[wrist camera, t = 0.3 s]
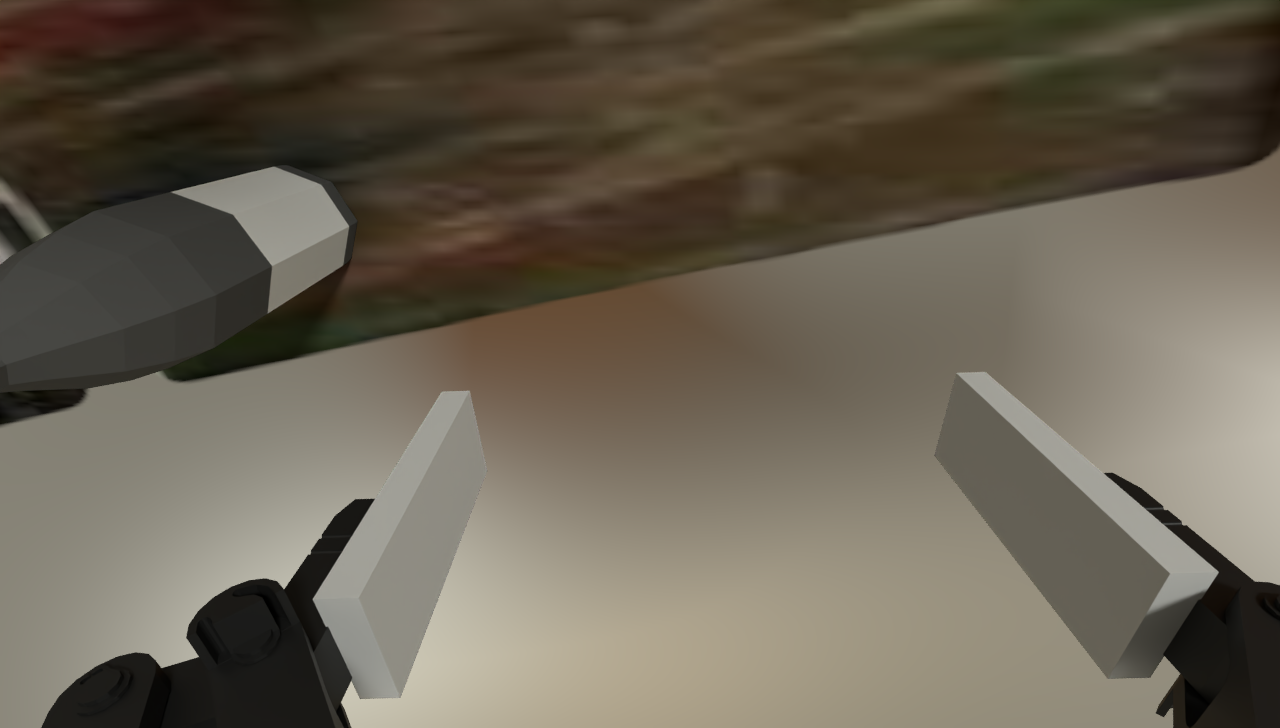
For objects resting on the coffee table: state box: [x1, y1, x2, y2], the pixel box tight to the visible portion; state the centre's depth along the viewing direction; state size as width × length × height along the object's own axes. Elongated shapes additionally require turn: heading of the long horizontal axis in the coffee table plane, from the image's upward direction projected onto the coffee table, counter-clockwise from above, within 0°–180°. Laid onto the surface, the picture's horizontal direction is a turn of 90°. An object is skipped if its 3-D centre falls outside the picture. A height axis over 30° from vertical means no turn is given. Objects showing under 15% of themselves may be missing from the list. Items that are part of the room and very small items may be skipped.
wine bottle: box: [0, 165, 357, 393], centre depth 27 cm, size 8×8×30 cm
